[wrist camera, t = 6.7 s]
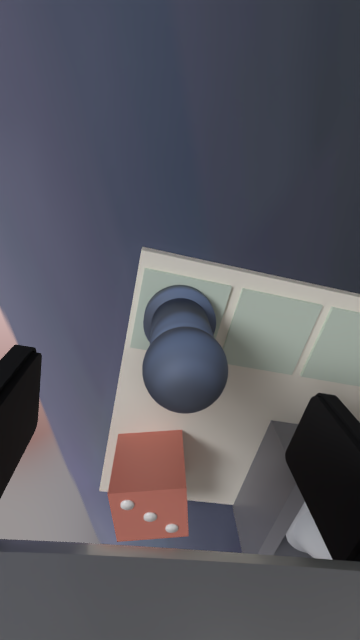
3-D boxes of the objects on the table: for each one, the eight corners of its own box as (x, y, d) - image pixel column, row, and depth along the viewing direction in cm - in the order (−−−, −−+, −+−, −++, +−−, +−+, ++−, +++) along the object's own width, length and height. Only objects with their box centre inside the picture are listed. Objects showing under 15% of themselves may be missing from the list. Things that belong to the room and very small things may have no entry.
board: (142, 246, 15) (141, 250, 14) (547, 335, 18) (567, 343, 18) (101, 480, 22) (98, 493, 21) (404, 513, 25) (413, 525, 24)
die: (118, 434, 19) (107, 495, 15) (182, 429, 19) (186, 489, 15) (125, 478, 21) (117, 543, 17) (184, 474, 21) (188, 537, 17)
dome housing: (271, 420, 19) (298, 479, 15) (387, 437, 20) (440, 496, 16) (232, 506, 22) (246, 573, 19) (334, 516, 24) (368, 581, 20)
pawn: (151, 278, 15) (143, 338, 9) (222, 292, 15) (257, 359, 9) (138, 342, 16) (124, 430, 10) (203, 353, 17) (225, 443, 11)
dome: (287, 446, 19) (323, 523, 15) (364, 457, 20) (421, 533, 16) (258, 503, 21) (283, 585, 17) (329, 511, 22) (370, 591, 18)
